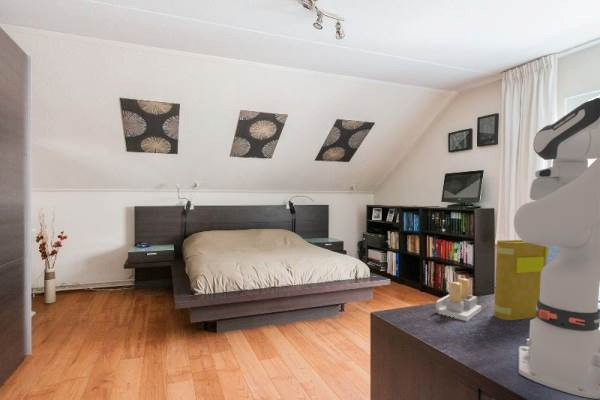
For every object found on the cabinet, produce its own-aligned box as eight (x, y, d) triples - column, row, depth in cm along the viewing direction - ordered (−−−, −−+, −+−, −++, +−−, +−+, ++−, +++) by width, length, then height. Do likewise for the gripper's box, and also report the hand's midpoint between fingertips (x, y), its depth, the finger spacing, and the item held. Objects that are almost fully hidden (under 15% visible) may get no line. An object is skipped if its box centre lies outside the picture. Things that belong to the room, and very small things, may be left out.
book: (526, 310, 123) (529, 239, 122) (545, 316, 116) (548, 242, 116) (488, 314, 117) (492, 240, 117) (506, 321, 111) (509, 243, 110)
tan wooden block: (466, 307, 119) (467, 281, 119) (455, 304, 122) (456, 279, 121) (469, 305, 122) (470, 279, 121) (458, 302, 124) (459, 277, 124)
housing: (466, 321, 110) (468, 288, 110) (435, 313, 117) (436, 281, 117) (481, 310, 121) (482, 280, 121) (451, 303, 128) (452, 274, 128)
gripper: (614, 172, 105) (611, 218, 105) (533, 173, 119) (531, 213, 119) (613, 170, 100) (611, 218, 101) (529, 172, 114) (527, 214, 115)
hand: (567, 216), depth 110 cm, fingers open, 8 cm apart
